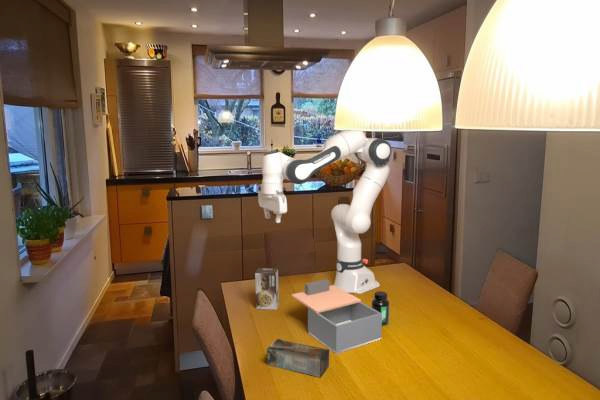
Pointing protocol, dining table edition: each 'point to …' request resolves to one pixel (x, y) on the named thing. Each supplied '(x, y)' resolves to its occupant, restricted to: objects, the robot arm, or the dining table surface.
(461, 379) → the dining table surface
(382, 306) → the supplement bottle
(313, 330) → the storage box
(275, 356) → the beverage carton
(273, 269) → the coffee box
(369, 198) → the robot arm
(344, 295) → the cover
